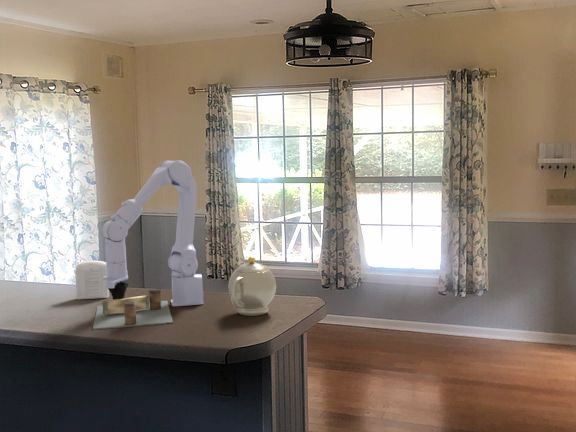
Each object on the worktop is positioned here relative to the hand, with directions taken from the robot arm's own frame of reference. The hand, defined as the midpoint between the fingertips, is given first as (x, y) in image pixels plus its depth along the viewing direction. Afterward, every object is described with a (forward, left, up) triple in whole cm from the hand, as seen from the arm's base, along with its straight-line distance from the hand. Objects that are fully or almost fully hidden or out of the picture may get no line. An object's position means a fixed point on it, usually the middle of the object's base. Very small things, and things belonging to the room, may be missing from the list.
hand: (119, 307), depth 190 cm
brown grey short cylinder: (-10, 0, -2) cm, 11 cm away
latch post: (-3, +15, -2) cm, 15 cm away
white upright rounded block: (+9, -24, -2) cm, 26 cm away
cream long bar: (-2, +2, -1) cm, 3 cm away
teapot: (-36, +14, -2) cm, 39 cm away
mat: (-4, +3, -2) cm, 5 cm away
